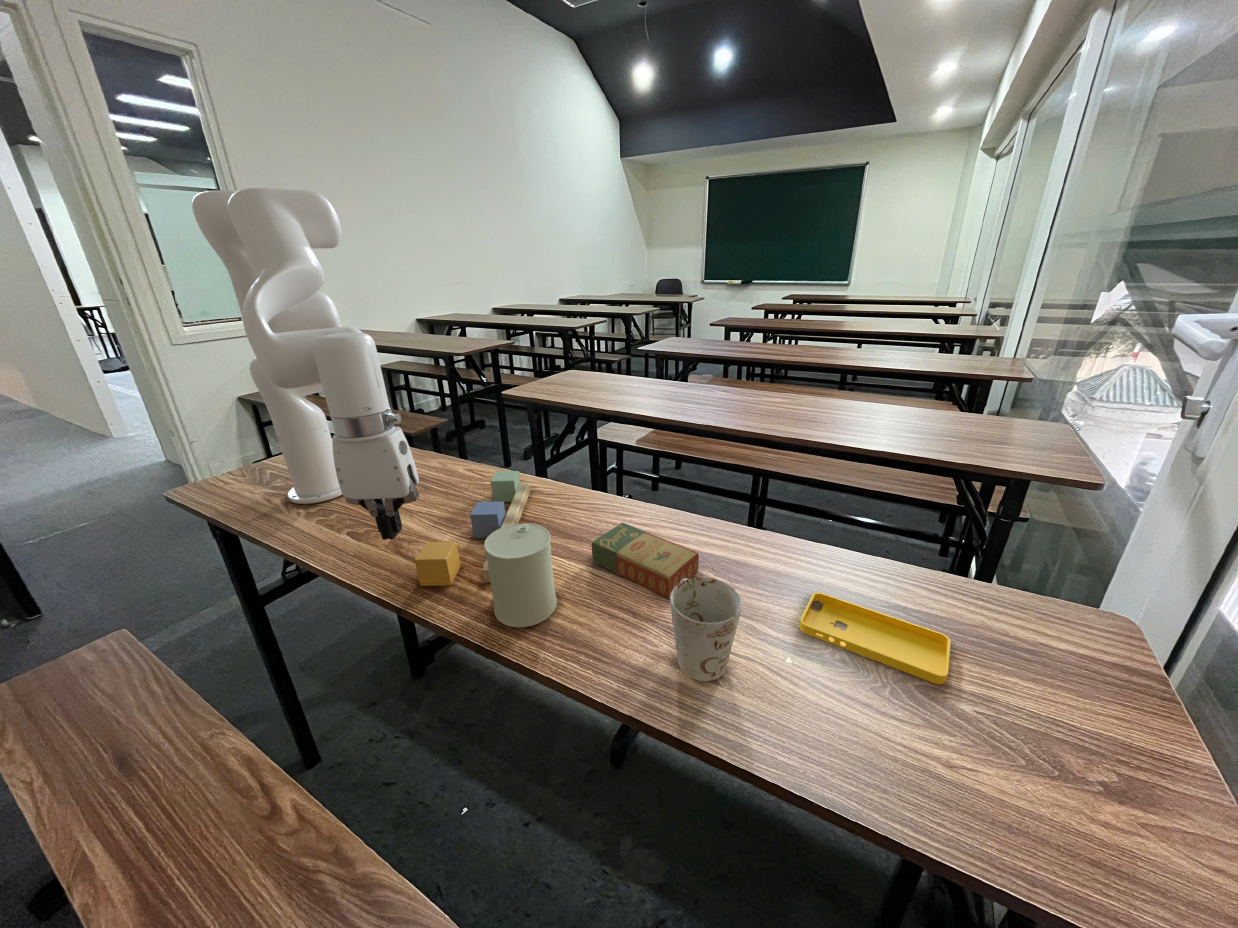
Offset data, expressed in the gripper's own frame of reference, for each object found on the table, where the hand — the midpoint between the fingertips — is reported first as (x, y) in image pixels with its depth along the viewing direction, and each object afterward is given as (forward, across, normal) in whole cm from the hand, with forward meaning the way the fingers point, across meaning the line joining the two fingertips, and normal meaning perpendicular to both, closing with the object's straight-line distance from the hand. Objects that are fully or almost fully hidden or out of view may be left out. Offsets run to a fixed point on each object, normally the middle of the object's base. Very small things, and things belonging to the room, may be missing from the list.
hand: (392, 534), depth 75 cm
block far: (+8, -11, -28) cm, 31 cm away
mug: (+9, -45, +17) cm, 49 cm away
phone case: (+9, -69, +15) cm, 71 cm away
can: (+9, -21, +7) cm, 24 cm away
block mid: (+8, -11, -14) cm, 20 cm away
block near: (+8, -6, 0) cm, 10 cm away
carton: (+9, -39, -2) cm, 40 cm away
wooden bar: (+8, -15, -14) cm, 22 cm away
